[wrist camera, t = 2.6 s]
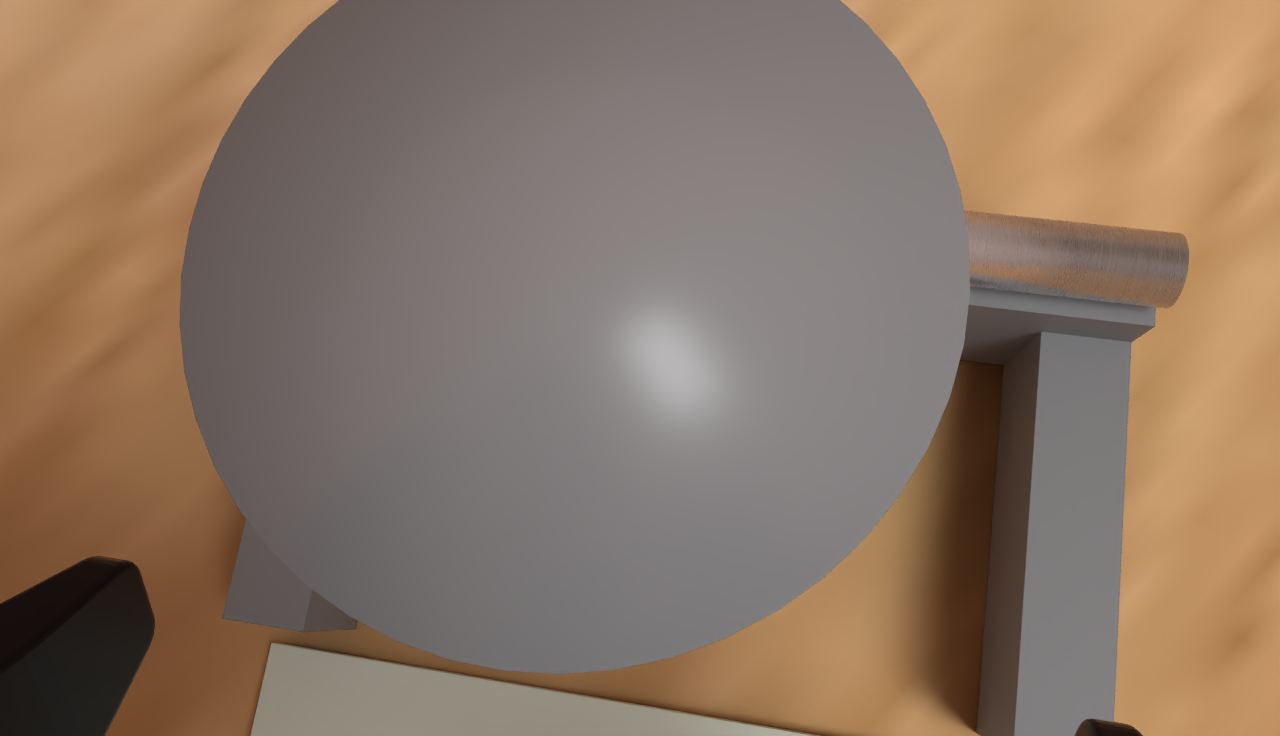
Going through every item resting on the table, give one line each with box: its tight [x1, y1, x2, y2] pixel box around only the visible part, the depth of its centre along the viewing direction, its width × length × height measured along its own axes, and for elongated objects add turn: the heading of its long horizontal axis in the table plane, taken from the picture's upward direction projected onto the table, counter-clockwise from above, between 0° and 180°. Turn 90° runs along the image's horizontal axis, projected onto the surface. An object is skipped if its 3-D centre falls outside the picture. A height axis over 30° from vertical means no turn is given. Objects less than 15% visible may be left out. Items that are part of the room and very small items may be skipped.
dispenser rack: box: [223, 211, 1189, 736], centre depth 18 cm, size 8×15×5 cm, turn 81°
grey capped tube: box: [180, 0, 970, 674], centre depth 13 cm, size 5×5×14 cm
